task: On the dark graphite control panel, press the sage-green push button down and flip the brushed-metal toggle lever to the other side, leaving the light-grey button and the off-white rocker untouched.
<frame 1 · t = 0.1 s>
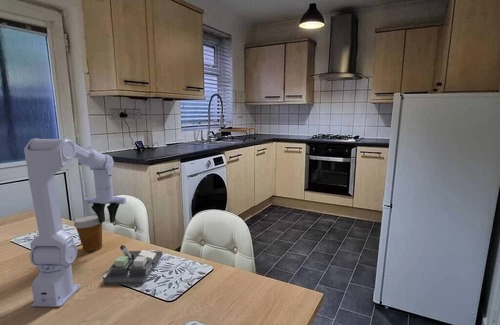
hand: (107, 222, 107), 10 cm above the table, tool pointing down, fingers open, 3 cm apart
rocker: (147, 255, 98), point 3 cm above the table, hinge at 15.0°
button aux: (140, 261, 91), point 4 cm above the table, slide at 0.0 cm
disposable coffee cup: (93, 248, 109), on the table, touching gripper
panel: (135, 268, 95), on the table
toggle lever: (125, 251, 97), point 4 cm above the table, hinge at -30.0°
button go: (121, 261, 92), point 4 cm above the table, slide at 0.0 cm
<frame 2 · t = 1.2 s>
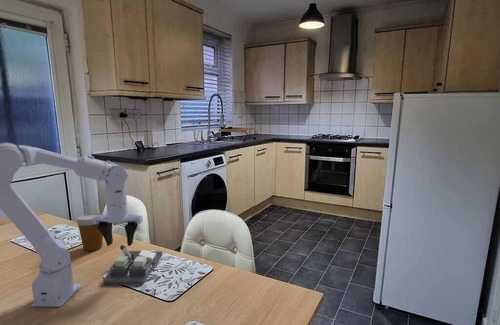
hand: (120, 244, 91), 10 cm above the table, tool pointing down, fingers open, 6 cm apart
disposable coffee cup: (93, 247, 109), on the table
everything else where it was.
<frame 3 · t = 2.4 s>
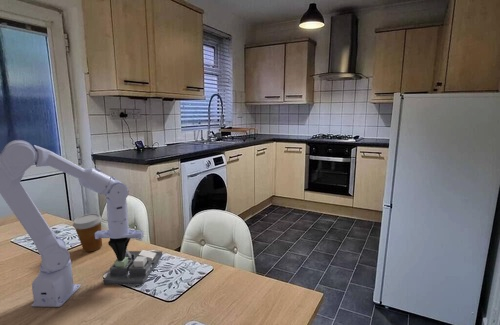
hand: (121, 259, 91), 5 cm above the table, tool pointing down, fingers closed, pressing on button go
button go: (121, 262, 92), point 4 cm above the table, slide at 0.2 cm, touching gripper
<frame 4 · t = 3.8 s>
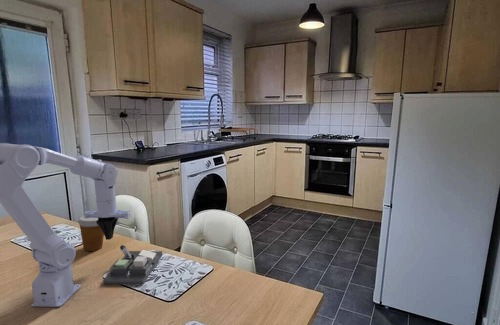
hand: (109, 238, 96), 9 cm above the table, tool pointing down, fingers closed
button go: (121, 265, 92), point 3 cm above the table, slide at 1.2 cm
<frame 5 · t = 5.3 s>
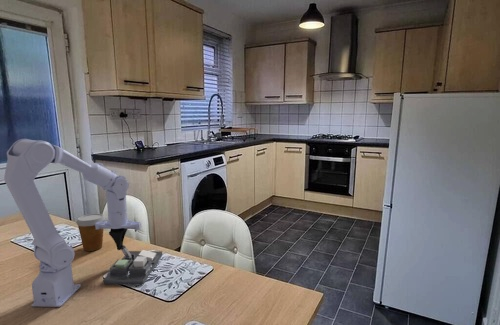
hand: (120, 248, 97), 5 cm above the table, tool pointing down, fingers closed, pressing on toggle lever
toggle lever: (125, 251, 97), point 4 cm above the table, hinge at -29.0°, touching gripper
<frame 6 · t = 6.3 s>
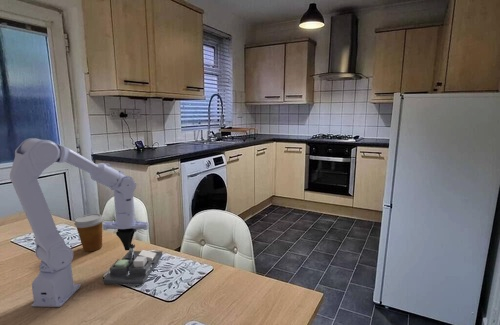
hand: (128, 249, 97), 5 cm above the table, tool pointing down, fingers closed
toggle lever: (131, 251, 97), point 5 cm above the table, hinge at 14.7°, touching gripper
everything else where it was.
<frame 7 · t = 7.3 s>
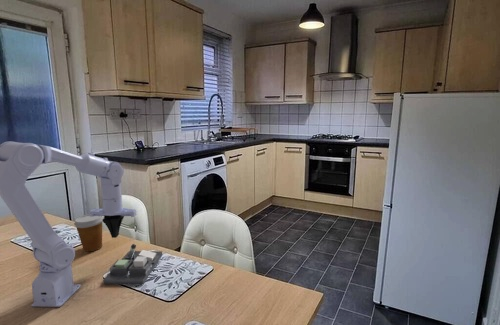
hand: (115, 236, 96), 10 cm above the table, tool pointing down, fingers closed
toggle lever: (132, 251, 97), point 5 cm above the table, hinge at 19.3°
everything else where it was.
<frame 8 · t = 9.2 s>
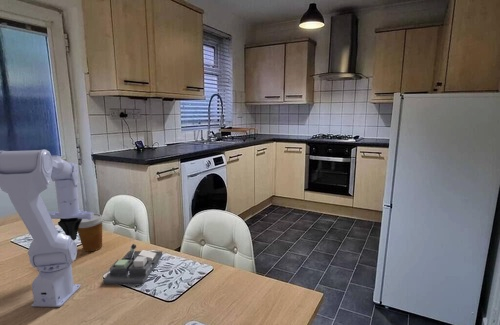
hand: (72, 239, 94), 10 cm above the table, tool pointing down, fingers closed
toggle lever: (132, 251, 97), point 4 cm above the table, hinge at 19.9°
at the end: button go slide at 1.2 cm; toggle lever at +20° (first picture: -30°); button aux slide at 0.0 cm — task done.
